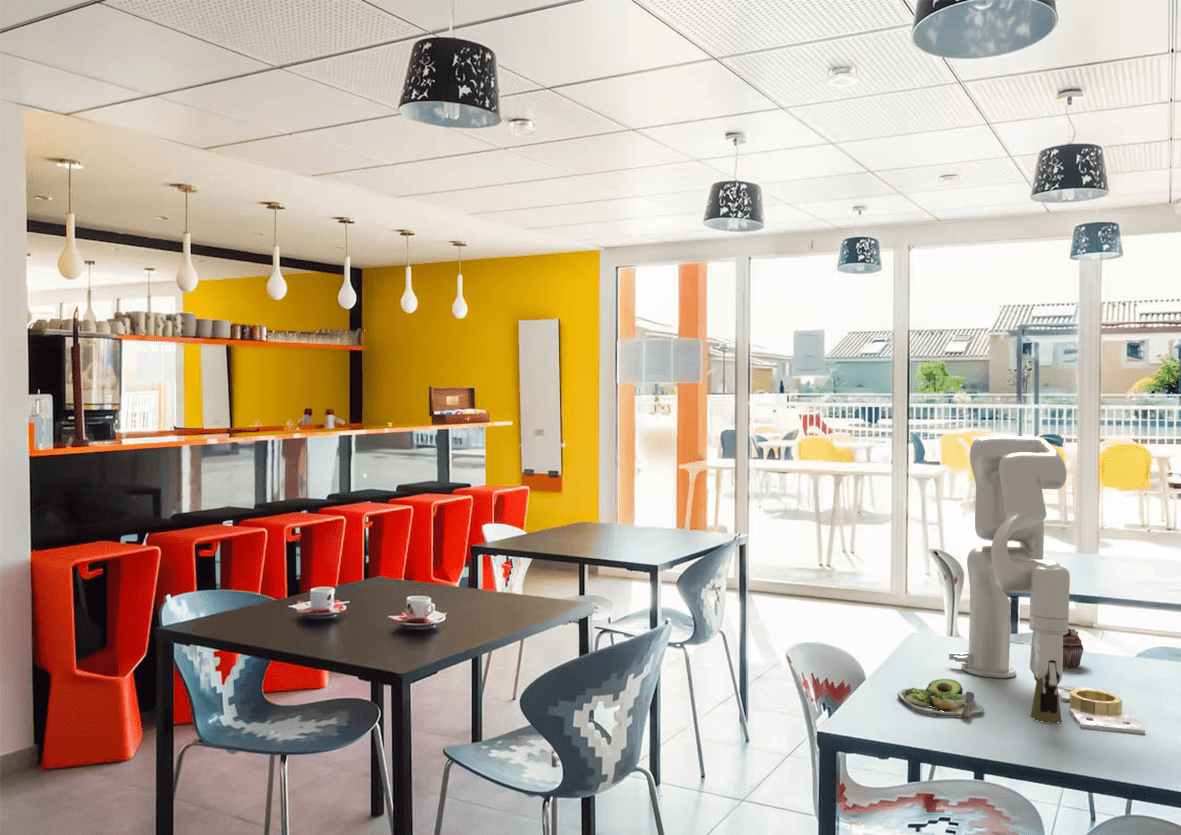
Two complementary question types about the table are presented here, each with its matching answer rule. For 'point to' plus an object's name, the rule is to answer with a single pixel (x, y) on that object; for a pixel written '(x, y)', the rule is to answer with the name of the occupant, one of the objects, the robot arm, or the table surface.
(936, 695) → the avocado toast plate
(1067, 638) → the cupcake
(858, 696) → the table surface
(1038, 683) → the cork
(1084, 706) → the mounting plate with ring
